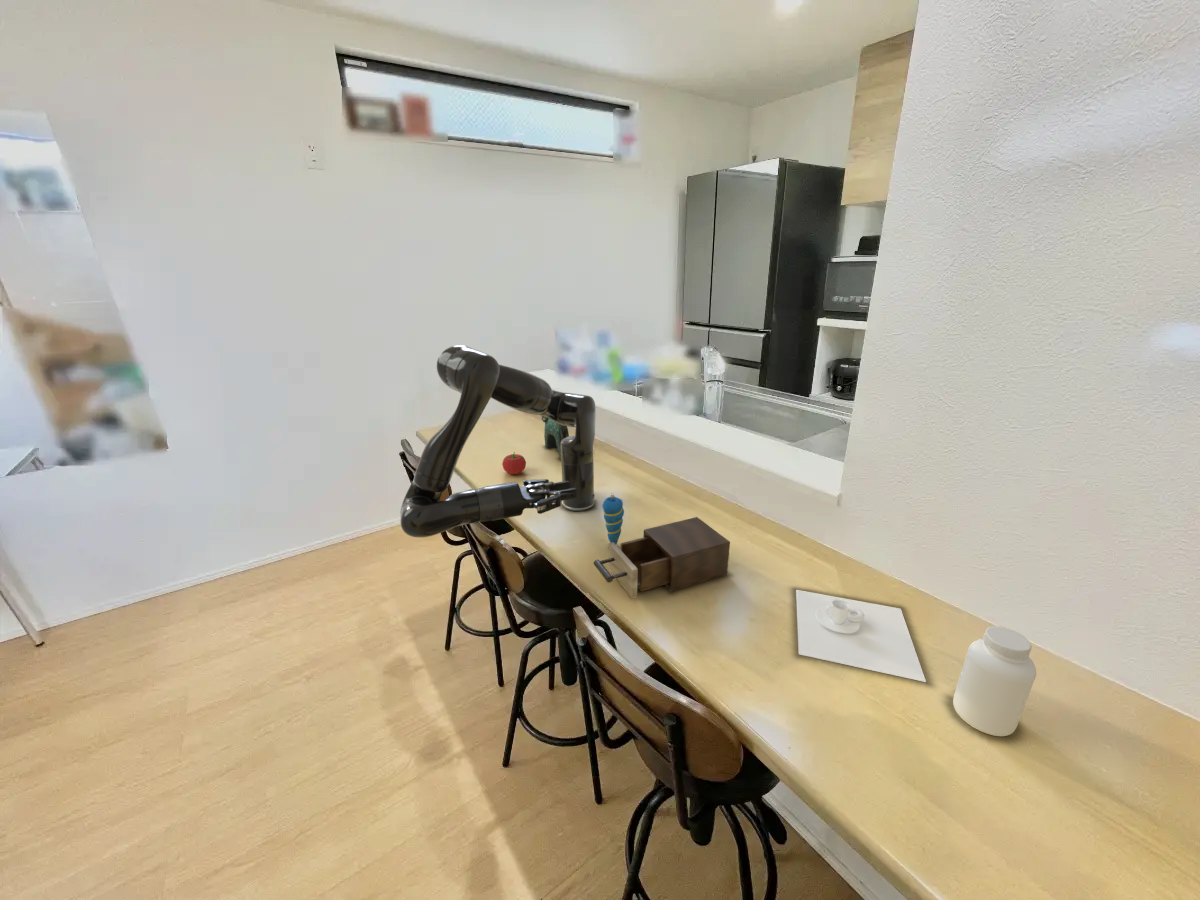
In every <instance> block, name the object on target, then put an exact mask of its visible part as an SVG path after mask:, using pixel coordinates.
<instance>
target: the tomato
mask: <svg viewBox="0 0 1200 900" xmlns="http://www.w3.org/2000/svg"><path fill="white" fill-rule="evenodd" d="M501 465H502V469H503V470H504V471H505V472H506V473H507V474H508V475H520V474H521V473H523V471H524V470H525V469H526V465H527V461H526V458H525V457H524V456H523V455H521V454H519V453H518V454H517V453H516V452H515V451H514V452H513V453H512V454H508V455H506V456H505V457H504V458H503V460H502V464H501Z"/></svg>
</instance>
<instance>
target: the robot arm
mask: <svg viewBox="0 0 1200 900" xmlns="http://www.w3.org/2000/svg"><path fill="white" fill-rule="evenodd" d="M436 372H437V375H438V377H439V379H440V380H441V382H442V383H443V384H444V385H445V386H446V387H448V388H450V389H451V390H454V391H455V392H457V393H460V397H459V401H458V404H457V407H456V408H455V410H454V412H453V414H452V415H451V417H450V418H448V420H447V421H446V422H445V424H444V425H443V426H442V427H440V428H439V429H438V430H437V431H436V432H435V433H434V434H433V435H432V436H431V438H430V439H429V440H428V441H427V443H426V444H425V446H424V448H423V449H422V453H421V455H420V459H419V461H418V464H417V466H416V469H415V473H414V477H413V480H412V482H411V483H410V485H409V487H408V489H407V491H406V493H405V496H404V498H403V500H402V503H401V506H400V509H399V510H400V511H399V514H400V517H399V519H400V527H401V529H402V532H404V534H406V535H407V536H409V537H412V538H416V539H421V538H422V539H423V538H429V537H433V536H436V535H439V534H441V533H445V532H447V531H450V530H452V529H454V528H456V527H459V526H464V525H471V524H475V523H482V522H492V521H497V520H503V519H510V518H514V517H519V516H522V515H523V514H524V510H525V509H536V511H537V514H539V515H541V514H544V513H547V512H549V511H552V510H554V509H557V508H560V507H561V506H562V507H563V508H564V509H566V510H569V511H573V512H583V511H587V510H589V509H590V510H591V508H593V507H594V506H595V476H594V475H595V474H594V473H595V472H594V465H595V463H594V461H595V460H594V443H595V438H596V417H597V409H596V408H597V407H596V402H595V400H594V398H593V397H592V396H590V395H587V394H579V393H572V392H562V391H558V390H554V389H553V388H552V387H551V385H550V383H548V382H547V381H546V380H545V379H543V378H541V377H539V376H537V375H534V374H533V373H530V372H527V371H524V370H521V369H518V368H516V367H515V368H514V367H511V366H507V365H503V364H500V363H499V362H498V360H497V359H496V358H495V357H494V356H493V355H490V354H488V353H486V352H484V351H481V350H478V349H475V348H474V347H473V348H472V347H471V346H467V345H460V344H458V345H452V346H449V347H447V348H445V349H444V350H443V351H441V353H440V354H439V356H438V358H437V360H436ZM491 399H492V400H494V401H496V402H498V403H499V404H502V405H503V406H506V407H508V408H510V409H513V410H515V411H518V412H521V413H523V414H529V415H532V416H541V415H542V416H545V417H547V418H549V419H551V420H553V421H555V422H556V423H558V424H561V425H564V426H567V427H569V428H575V431H574V434H573V435H569V436H568V437H566V438H564V439H563V440H562V441H561V460H560V462H561V464H560V465H561V481H557V482H554V481H550V480H549V479H547V478H544V479H542V478H541V479H539V478H538V479H523V481H522V482H523V483H522V485H521V486H520V485H519V483H518V482H517V481H511V482H506V483H499V484H493V485H486V486H482V487H480V488H475V489H469V490H464V491H458V492H453V493H451V494H450V495H449V496H448V497H447V498H446V499H443V500H441V497H442V495H443V493H444V492H445V491H446V490H447V489H448V487H449V485H450V483H451V480H452V478H453V475H454V472H455V469H456V466H457V464H458V462H459V458H460V456H461V454H462V451H463V449H464V447H465V445H466V443H467V441H468V439H469V437H470V436H471V434H472V432H473V430H474V428H475V427H476V425H477V424H478V422H479V420H480V418H481V417H482V415H483V412H484V411H485V409H486V407H487V405H488V404H489V402H490V400H491ZM556 448H557V450H558V445H557V442H556Z"/></svg>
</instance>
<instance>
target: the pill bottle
mask: <svg viewBox="0 0 1200 900" xmlns="http://www.w3.org/2000/svg"><path fill="white" fill-rule="evenodd" d="M1032 649H1033V646H1032V643H1031V642H1030V640H1029V639H1028V638H1027V637H1026V636H1024V635H1023V634H1021V633H1020V632H1018V631H1016V630H1013V629H1011V628H1009V627H1005V626H998V625H992V626H988V627H987V628H986V629H985V630H984V634H983V638H978V639H976V640H974V641H973V642H972V643H971V644H970V645H969V647H968V650H967V651H966V656H965V659H964V662H963V665H962V669H961V672H960V674H959V678H958V681H957V685H956V688H955V690H954V691H955V692H954V695H953V700H952V704H953V708H954V710H955V712H956V714H957V715H958V716H959V717H960V718H961V720H963V721H964V722H965V723H967V724H968V725H969V726H970V727H972V728H973V729H976V730H977V731H980V732H982V733H984V734H987V735H990V736H994V737H1006V736H1010V735H1012V734H1013V733H1014V732H1015V731H1016V729H1017V727H1018V724H1019V722H1020V719H1021V716H1022V714H1023V711H1024V709H1025V706H1026V704H1027V700H1028V699H1029V696H1030V693H1031V690H1032V688H1033V685H1034V682H1035V680H1036V678H1037V677H1036V676H1037V668H1036V664H1035V663H1034V661H1033V659H1032V658H1031V657H1030V655H1031V654H1030V653H1031V651H1032Z"/></svg>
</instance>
